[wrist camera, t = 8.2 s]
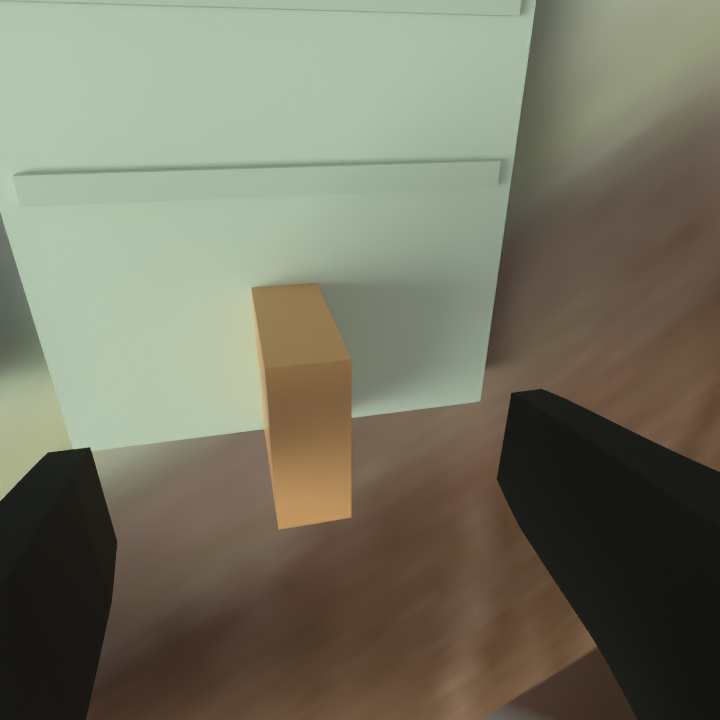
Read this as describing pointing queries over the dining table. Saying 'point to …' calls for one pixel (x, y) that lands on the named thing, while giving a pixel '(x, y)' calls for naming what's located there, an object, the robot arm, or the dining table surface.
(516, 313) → the dining table surface
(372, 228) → the lid
